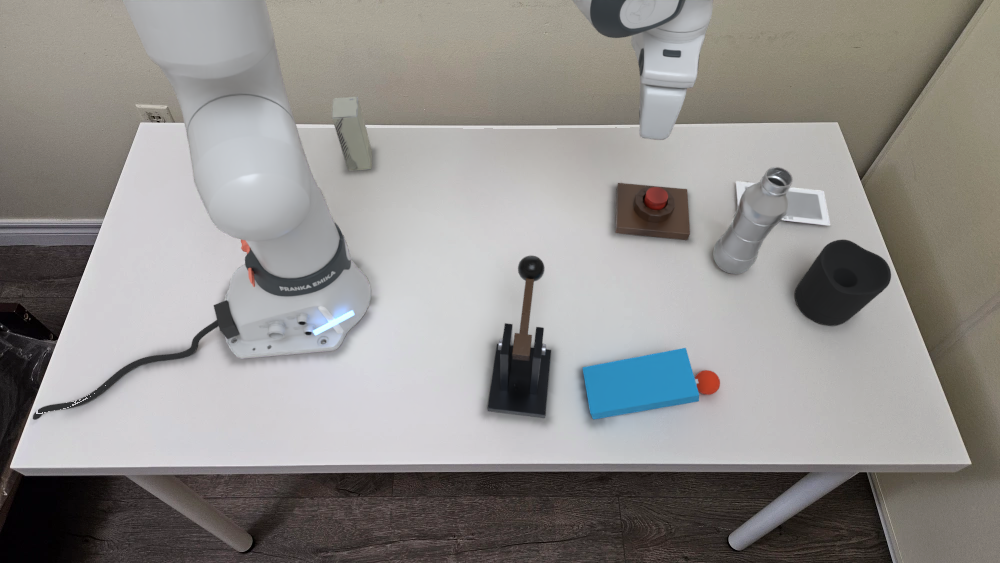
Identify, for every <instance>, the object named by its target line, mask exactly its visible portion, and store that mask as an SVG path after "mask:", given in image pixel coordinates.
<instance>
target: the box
mask: <svg viewBox="0 0 1000 563" xmlns="http://www.w3.org/2000/svg"><path fill="white" fill-rule="evenodd" d="M331 121H332V122H333V125H334V126H333V127H334V129H335V132H336V135H337V139H338V142H339V146H340V148H341V151H342V154H343V157H344V161H345V164H346V168H347V170H348V172H349V171H350V172H353V171H365V170H366V171H367V170H371V169H372V167H373V149H372V146H371V142H370V138H369V134H368V130H367V127H366V122H365V118H364V115H363V110H362V107H361V102H360V100H359V96H345V97H335V98H334V97H333V98H332V104H331Z"/></svg>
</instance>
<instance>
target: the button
mask: <svg viewBox="0 0 1000 563" xmlns="http://www.w3.org/2000/svg"><path fill="white" fill-rule="evenodd" d="M659 187H660V186H659ZM659 187H652V188H650V189H648V190H647V192H646V195H645V198H644V203H645V205H646V206H647V207H648V208H650V209H652V210H660V209H662V208H664V207H665V205H666V202H667V199H668V194H667V192H666V191H665V190H664V189H662V188H659Z"/></svg>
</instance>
